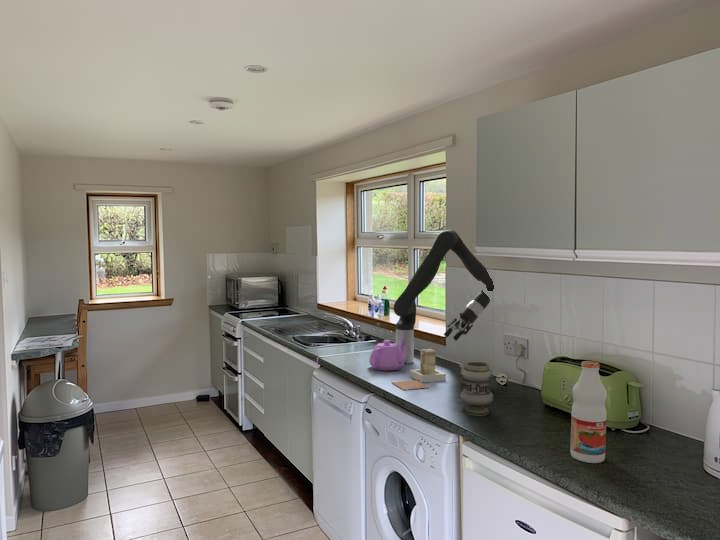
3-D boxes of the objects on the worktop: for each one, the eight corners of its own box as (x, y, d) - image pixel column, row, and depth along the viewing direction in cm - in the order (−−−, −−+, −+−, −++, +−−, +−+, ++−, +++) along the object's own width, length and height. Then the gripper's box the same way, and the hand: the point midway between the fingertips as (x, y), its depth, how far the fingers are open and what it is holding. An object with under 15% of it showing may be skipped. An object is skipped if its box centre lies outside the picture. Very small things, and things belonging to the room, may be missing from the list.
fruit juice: (591, 450, 163) (595, 358, 162) (612, 462, 154) (615, 365, 153) (563, 452, 162) (566, 359, 160) (582, 465, 152) (585, 366, 151)
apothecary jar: (453, 408, 203) (454, 361, 202) (481, 405, 207) (482, 358, 206) (471, 418, 192) (472, 368, 191) (499, 414, 196) (501, 365, 195)
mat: (392, 383, 238) (392, 382, 238) (416, 381, 242) (416, 380, 242) (403, 390, 226) (403, 389, 226) (429, 388, 231) (429, 386, 231)
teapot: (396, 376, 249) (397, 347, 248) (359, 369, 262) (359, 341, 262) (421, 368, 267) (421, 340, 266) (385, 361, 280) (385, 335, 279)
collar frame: (410, 376, 251) (410, 369, 250) (433, 374, 255) (433, 367, 255) (421, 382, 239) (421, 375, 239) (445, 380, 243) (445, 373, 243)
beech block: (420, 377, 248) (420, 349, 248) (429, 376, 250) (430, 348, 249) (425, 380, 244) (425, 351, 243) (435, 379, 246) (435, 350, 245)
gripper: (459, 305, 259) (437, 329, 255) (475, 308, 246) (452, 334, 242) (468, 315, 261) (447, 340, 258) (485, 319, 248) (462, 345, 244)
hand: (449, 337), depth 250 cm, fingers open, 8 cm apart
